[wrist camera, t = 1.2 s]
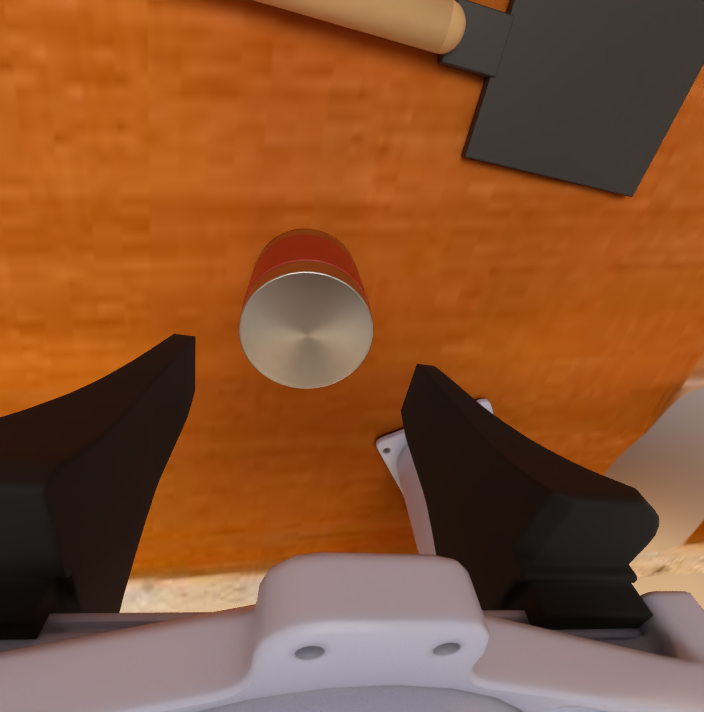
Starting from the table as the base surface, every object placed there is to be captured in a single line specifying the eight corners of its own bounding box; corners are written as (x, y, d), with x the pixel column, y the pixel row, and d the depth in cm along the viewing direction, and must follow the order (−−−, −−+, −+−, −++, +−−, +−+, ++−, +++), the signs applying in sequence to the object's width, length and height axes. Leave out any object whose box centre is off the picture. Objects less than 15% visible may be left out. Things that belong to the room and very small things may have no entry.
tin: (372, 301, 21) (393, 360, 16) (285, 339, 22) (280, 407, 17) (331, 208, 19) (341, 244, 14) (233, 255, 19) (208, 306, 14)
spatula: (93, 68, 15) (72, 64, 14) (57, -277, 11) (23, -331, 10) (625, 195, 20) (649, 201, 18) (735, -14, 16) (776, -25, 14)
